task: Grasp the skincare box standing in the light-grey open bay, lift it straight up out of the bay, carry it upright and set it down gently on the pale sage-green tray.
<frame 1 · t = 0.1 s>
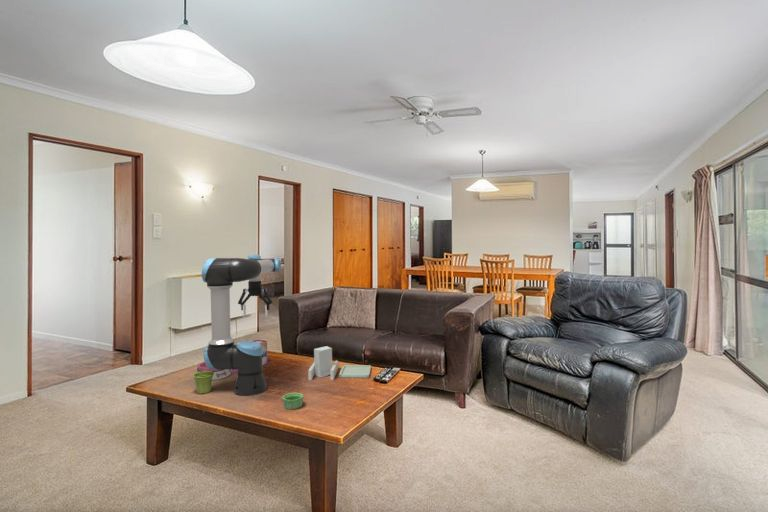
hand: (255, 315, 254), 28 cm above the table, fingers open, 13 cm apart
gum box: (250, 368, 243), on the table
plant pot: (204, 392, 204), on the table
dog bowl: (213, 376, 229), on the table
bay: (323, 375, 228), on the table
ramekin: (293, 406, 185), on the table
skincare box: (323, 375, 228), resting in bay
tray: (355, 372, 231), on the table
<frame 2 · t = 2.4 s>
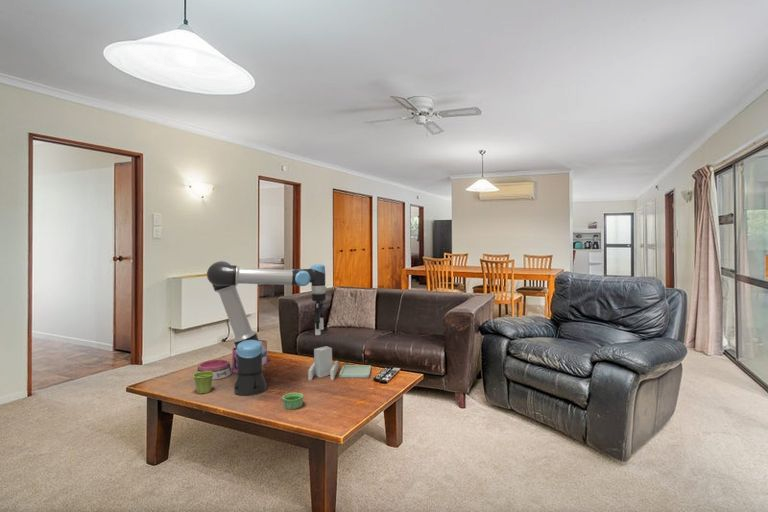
hand: (319, 332, 228), 23 cm above the table, fingers open, 13 cm apart
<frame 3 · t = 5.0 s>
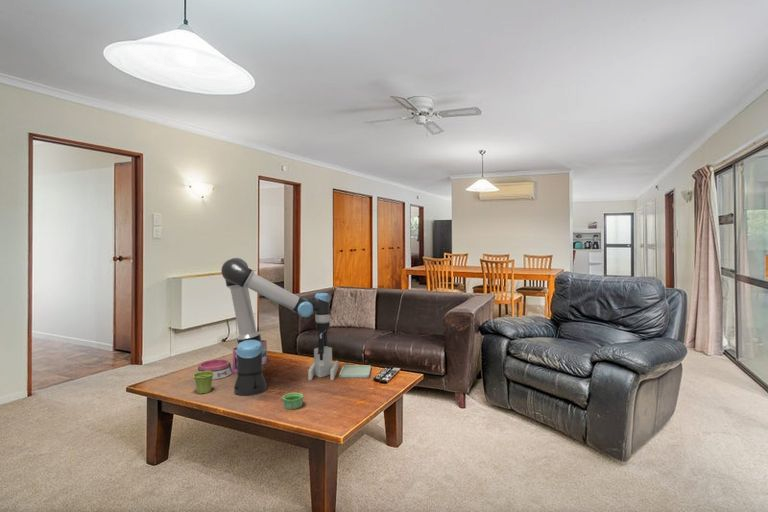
hand: (323, 363, 227), 7 cm above the table, fingers closed on skincare box, 9 cm apart
skincare box: (323, 375, 228), resting in bay, touching gripper
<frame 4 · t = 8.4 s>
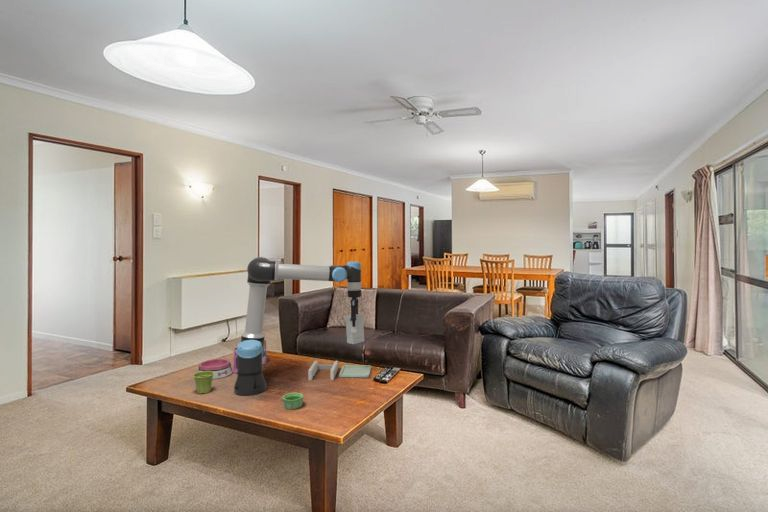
hand: (354, 330, 230), 23 cm above the table, fingers closed on skincare box, 9 cm apart
skincare box: (355, 342, 231), point 17 cm above the table, touching gripper
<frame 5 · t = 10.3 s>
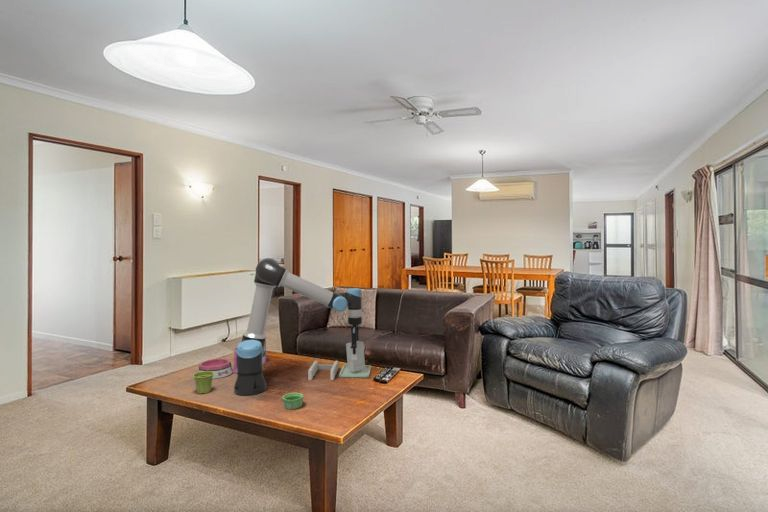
hand: (355, 357, 231), 9 cm above the table, fingers closed on skincare box, 9 cm apart
skincare box: (356, 369, 231), point 2 cm above the table, touching gripper
when the fingers open (7 cm above the table, at t = 11.6 s): skincare box stays where it is, resting on tray.
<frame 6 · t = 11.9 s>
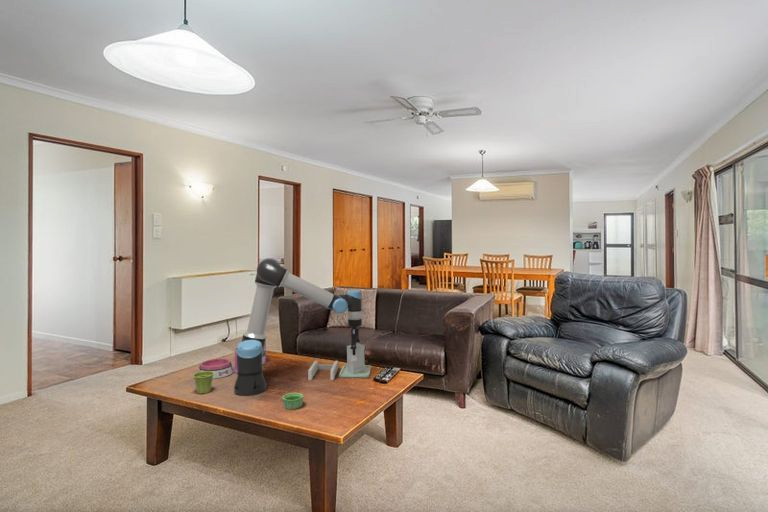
hand: (355, 357, 231), 9 cm above the table, fingers open, 12 cm apart
skincare box: (356, 372, 231), resting on tray
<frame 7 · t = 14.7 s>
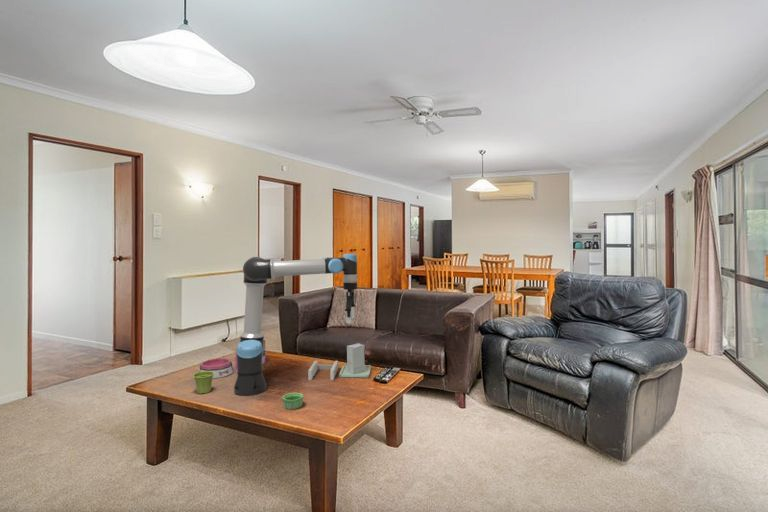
hand: (350, 320, 230), 29 cm above the table, fingers open, 13 cm apart
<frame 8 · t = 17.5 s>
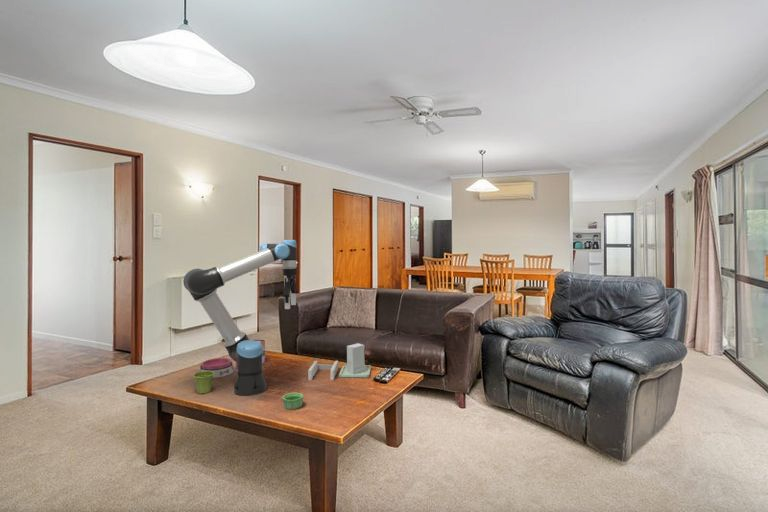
hand: (290, 307, 230), 37 cm above the table, fingers open, 13 cm apart
at the end: skincare box inside the target area on the tray (0.4 cm from its centre), point 0.4 cm above the tray's base; skincare box tilted 0°; the gripper is holding nothing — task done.
